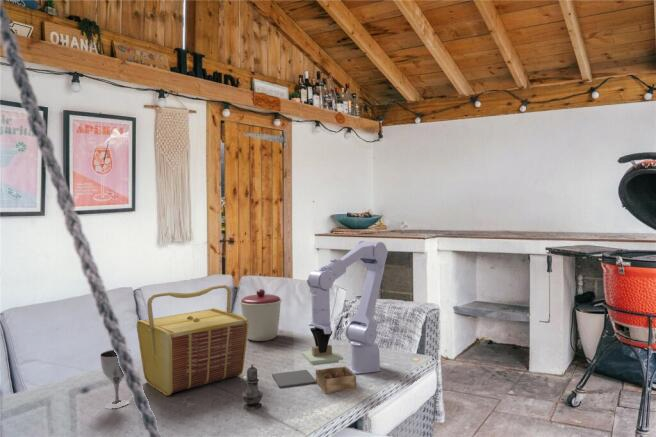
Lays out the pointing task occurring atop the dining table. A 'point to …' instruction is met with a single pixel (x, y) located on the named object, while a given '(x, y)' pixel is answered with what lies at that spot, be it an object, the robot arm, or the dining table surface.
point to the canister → (261, 315)
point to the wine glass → (112, 370)
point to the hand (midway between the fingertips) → (321, 351)
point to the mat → (293, 378)
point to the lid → (322, 356)
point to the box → (335, 379)
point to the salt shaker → (252, 390)
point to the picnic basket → (192, 345)
